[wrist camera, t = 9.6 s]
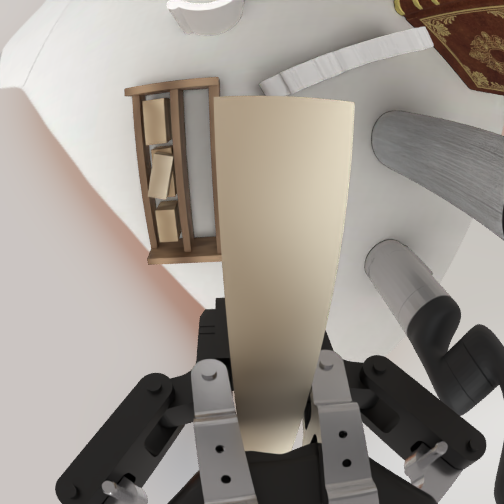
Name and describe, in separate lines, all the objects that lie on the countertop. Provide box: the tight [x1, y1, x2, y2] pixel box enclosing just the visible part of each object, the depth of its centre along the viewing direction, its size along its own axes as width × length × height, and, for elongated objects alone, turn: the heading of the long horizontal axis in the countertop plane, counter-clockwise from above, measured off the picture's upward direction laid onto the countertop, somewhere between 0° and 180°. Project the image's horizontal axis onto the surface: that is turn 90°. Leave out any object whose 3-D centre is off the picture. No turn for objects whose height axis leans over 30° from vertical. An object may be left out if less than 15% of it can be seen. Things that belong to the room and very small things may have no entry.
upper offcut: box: [148, 151, 174, 200], centre depth 36 cm, size 3×6×2 cm, turn 165°
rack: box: [124, 77, 222, 265], centre depth 37 cm, size 12×25×6 cm, turn 1°
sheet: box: [214, 96, 355, 454], centre depth 14 cm, size 2×18×12 cm, turn 1°
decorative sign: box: [259, 27, 434, 96], centre depth 27 cm, size 23×3×15 cm, turn 119°
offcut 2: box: [155, 200, 182, 242], centre depth 41 cm, size 3×5×4 cm, turn 0°
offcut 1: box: [143, 98, 172, 145], centre depth 34 cm, size 3×6×4 cm, turn 1°
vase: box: [372, 111, 504, 240], centre depth 27 cm, size 10×10×27 cm
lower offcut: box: [151, 145, 177, 197], centre depth 38 cm, size 3×7×3 cm, turn 0°
